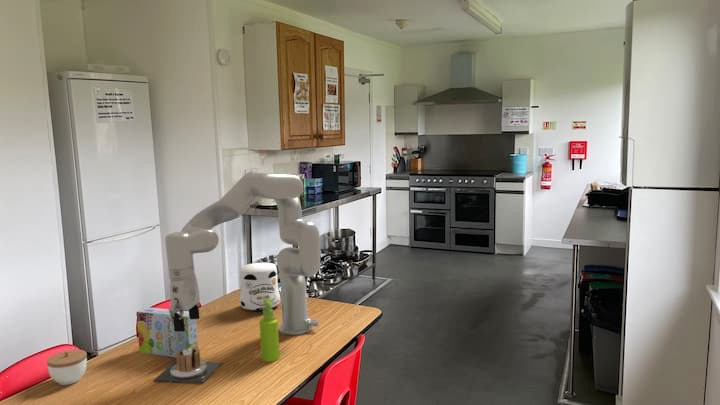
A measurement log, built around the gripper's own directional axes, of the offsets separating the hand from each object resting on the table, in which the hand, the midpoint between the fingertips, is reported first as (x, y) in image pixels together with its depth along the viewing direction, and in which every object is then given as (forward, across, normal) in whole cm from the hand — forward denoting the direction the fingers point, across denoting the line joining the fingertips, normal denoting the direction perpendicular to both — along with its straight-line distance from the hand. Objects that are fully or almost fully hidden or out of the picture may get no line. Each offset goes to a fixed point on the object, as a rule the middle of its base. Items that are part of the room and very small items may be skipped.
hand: (187, 324), depth 163 cm
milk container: (+17, +60, -1) cm, 62 cm away
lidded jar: (+15, -10, +36) cm, 40 cm away
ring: (+14, -1, 0) cm, 14 cm away
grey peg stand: (+15, -1, +1) cm, 15 cm away
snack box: (+16, +12, +15) cm, 25 cm away
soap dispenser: (+16, +11, -22) cm, 30 cm away
